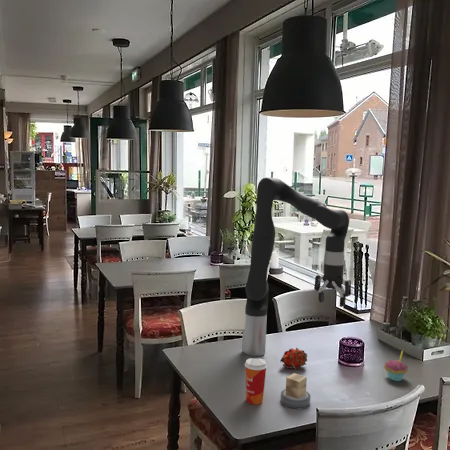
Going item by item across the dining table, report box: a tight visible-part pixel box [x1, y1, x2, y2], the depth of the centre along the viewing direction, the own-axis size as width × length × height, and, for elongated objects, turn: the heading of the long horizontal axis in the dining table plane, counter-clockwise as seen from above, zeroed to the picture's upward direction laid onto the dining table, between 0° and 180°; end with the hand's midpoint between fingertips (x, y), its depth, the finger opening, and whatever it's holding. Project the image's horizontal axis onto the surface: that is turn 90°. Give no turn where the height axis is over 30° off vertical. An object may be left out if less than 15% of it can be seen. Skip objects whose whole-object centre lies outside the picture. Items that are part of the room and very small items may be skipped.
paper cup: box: [244, 357, 268, 406], centre depth 167 cm, size 8×8×14 cm
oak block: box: [285, 372, 308, 399], centre depth 168 cm, size 5×5×6 cm
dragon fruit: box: [280, 347, 308, 371], centre depth 197 cm, size 8×8×12 cm
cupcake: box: [383, 349, 409, 382], centre depth 189 cm, size 9×8×12 cm
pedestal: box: [280, 388, 311, 409], centre depth 168 cm, size 10×10×3 cm
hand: (331, 304), depth 188 cm, fingers open, 8 cm apart
